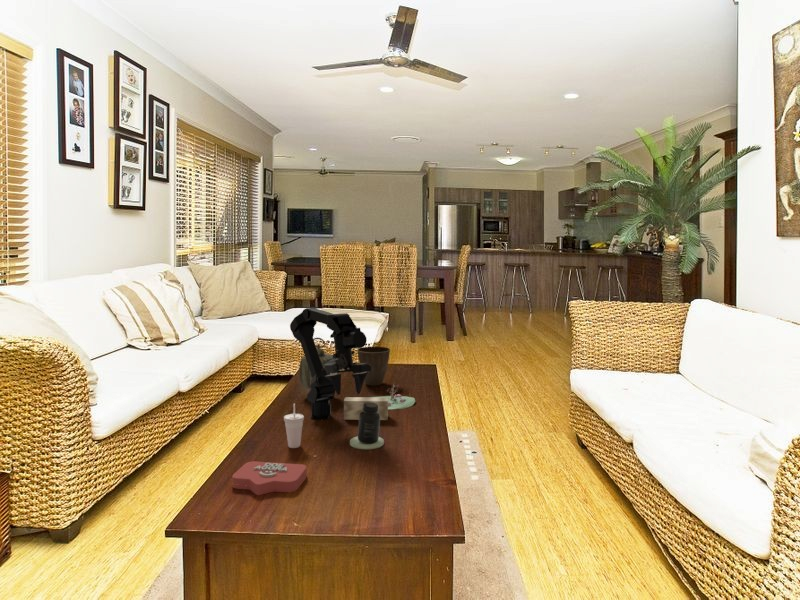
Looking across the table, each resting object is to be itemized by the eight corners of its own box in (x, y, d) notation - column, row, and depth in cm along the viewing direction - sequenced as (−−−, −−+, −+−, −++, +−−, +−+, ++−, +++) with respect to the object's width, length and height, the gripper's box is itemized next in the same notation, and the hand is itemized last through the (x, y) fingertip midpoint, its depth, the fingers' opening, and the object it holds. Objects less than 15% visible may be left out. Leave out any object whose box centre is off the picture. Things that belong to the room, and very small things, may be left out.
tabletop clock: (338, 396, 241) (338, 338, 239) (324, 401, 234) (324, 341, 231) (312, 391, 249) (311, 334, 247) (297, 396, 242) (297, 337, 239)
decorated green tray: (352, 410, 224) (352, 388, 223) (355, 396, 244) (355, 375, 243) (416, 411, 224) (416, 388, 223) (413, 396, 245) (414, 375, 244)
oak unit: (343, 419, 211) (343, 400, 210) (345, 415, 216) (345, 396, 216) (387, 420, 211) (387, 401, 210) (387, 415, 216) (388, 397, 216)
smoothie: (287, 450, 180) (286, 407, 178) (281, 444, 185) (280, 401, 184) (307, 447, 182) (306, 404, 181) (300, 441, 188) (300, 399, 187)
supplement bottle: (382, 439, 188) (385, 404, 186) (371, 446, 182) (374, 410, 180) (364, 433, 191) (367, 399, 189) (353, 440, 185) (356, 404, 183)
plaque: (224, 480, 149) (247, 458, 164) (224, 494, 150) (248, 471, 164) (290, 484, 147) (308, 462, 161) (291, 499, 147) (308, 476, 162)
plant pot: (353, 386, 258) (353, 351, 256) (361, 379, 273) (361, 345, 271) (386, 388, 256) (386, 353, 254) (392, 380, 270) (392, 346, 269)
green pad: (348, 449, 181) (348, 446, 181) (351, 437, 192) (351, 435, 192) (383, 449, 181) (383, 447, 181) (384, 437, 192) (384, 435, 192)
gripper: (307, 354, 200) (313, 398, 199) (348, 349, 189) (353, 397, 188) (329, 350, 209) (335, 393, 208) (369, 346, 198) (374, 391, 197)
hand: (348, 394), depth 200 cm, fingers open, 9 cm apart
